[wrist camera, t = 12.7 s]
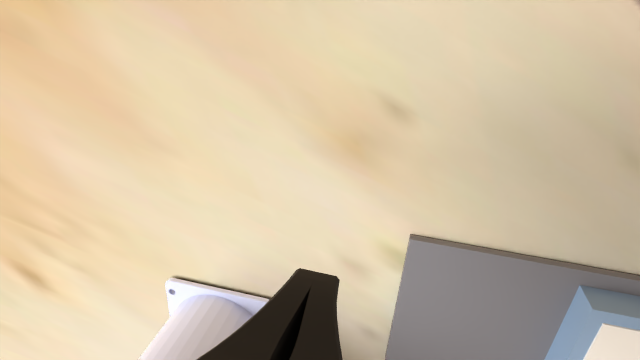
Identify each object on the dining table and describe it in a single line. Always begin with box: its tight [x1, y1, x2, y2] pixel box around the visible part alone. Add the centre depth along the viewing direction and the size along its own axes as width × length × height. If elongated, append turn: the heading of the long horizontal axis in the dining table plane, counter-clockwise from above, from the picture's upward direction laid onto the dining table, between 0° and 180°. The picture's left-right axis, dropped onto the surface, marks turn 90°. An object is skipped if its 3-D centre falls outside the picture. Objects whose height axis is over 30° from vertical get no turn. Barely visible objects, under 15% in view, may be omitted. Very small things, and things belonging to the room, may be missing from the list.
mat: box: [385, 234, 640, 360], centre depth 23 cm, size 10×15×1 cm, turn 87°
